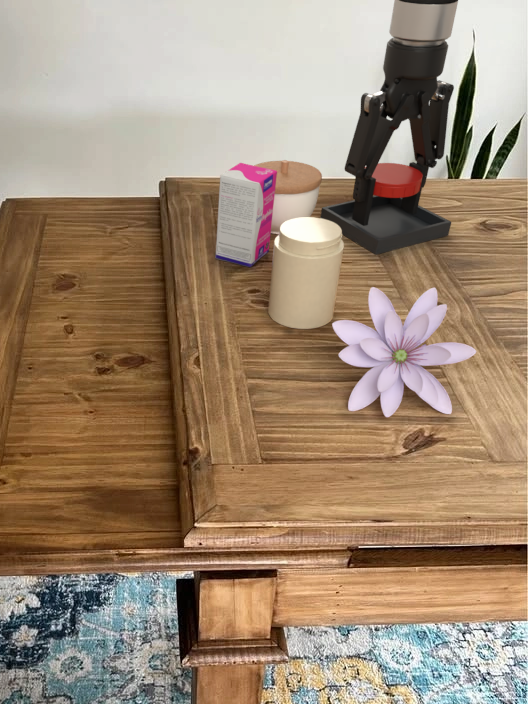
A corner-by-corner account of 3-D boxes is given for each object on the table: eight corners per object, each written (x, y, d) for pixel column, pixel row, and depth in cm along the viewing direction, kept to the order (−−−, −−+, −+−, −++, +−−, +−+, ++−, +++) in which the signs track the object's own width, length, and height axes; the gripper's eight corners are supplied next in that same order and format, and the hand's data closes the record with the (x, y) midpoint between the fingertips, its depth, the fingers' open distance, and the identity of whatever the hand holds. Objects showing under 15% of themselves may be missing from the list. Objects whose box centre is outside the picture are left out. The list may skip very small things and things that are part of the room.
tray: (448, 235, 106) (451, 221, 105) (375, 254, 102) (378, 240, 100) (388, 204, 115) (391, 191, 114) (319, 221, 111) (321, 207, 109)
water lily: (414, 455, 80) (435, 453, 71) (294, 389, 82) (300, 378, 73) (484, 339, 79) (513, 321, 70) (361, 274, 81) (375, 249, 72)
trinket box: (274, 247, 104) (280, 180, 98) (229, 222, 111) (231, 158, 104) (330, 229, 108) (339, 164, 102) (283, 206, 115) (289, 143, 109)
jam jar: (346, 319, 89) (361, 235, 82) (291, 335, 86) (301, 249, 79) (308, 291, 94) (318, 210, 87) (255, 306, 92) (262, 223, 84)
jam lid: (347, 182, 106) (349, 168, 105) (393, 172, 109) (396, 159, 107) (384, 202, 100) (387, 188, 99) (432, 191, 103) (435, 177, 102)
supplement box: (252, 268, 99) (258, 183, 91) (214, 259, 101) (216, 174, 94) (271, 252, 103) (278, 168, 95) (233, 243, 105) (237, 161, 97)
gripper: (460, 24, 98) (422, 194, 113) (332, 42, 91) (310, 220, 106) (503, 35, 93) (457, 211, 108) (370, 55, 86) (341, 240, 101)
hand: (384, 216), depth 107 cm, fingers closed on jam lid, 8 cm apart
